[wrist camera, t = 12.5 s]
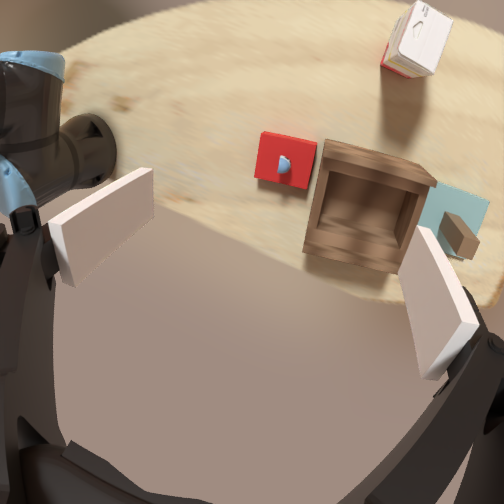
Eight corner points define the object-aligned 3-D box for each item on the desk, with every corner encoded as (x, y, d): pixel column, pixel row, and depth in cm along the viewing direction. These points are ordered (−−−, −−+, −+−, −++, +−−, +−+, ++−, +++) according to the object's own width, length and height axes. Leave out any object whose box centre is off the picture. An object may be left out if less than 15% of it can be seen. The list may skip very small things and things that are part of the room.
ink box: (409, 80, 33) (435, 77, 24) (378, 64, 34) (395, 55, 24) (426, 34, 29) (455, 19, 19) (396, 18, 29) (416, -3, 19)
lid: (403, 238, 46) (416, 272, 37) (424, 176, 40) (445, 198, 32) (463, 255, 44) (483, 289, 36) (486, 199, 38) (514, 225, 30)
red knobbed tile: (317, 142, 42) (315, 149, 37) (308, 183, 46) (304, 197, 40) (264, 131, 43) (255, 137, 38) (258, 172, 47) (248, 184, 42)
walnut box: (307, 224, 49) (302, 252, 41) (325, 138, 41) (324, 149, 34) (393, 245, 47) (402, 276, 39) (419, 164, 39) (437, 181, 32)
